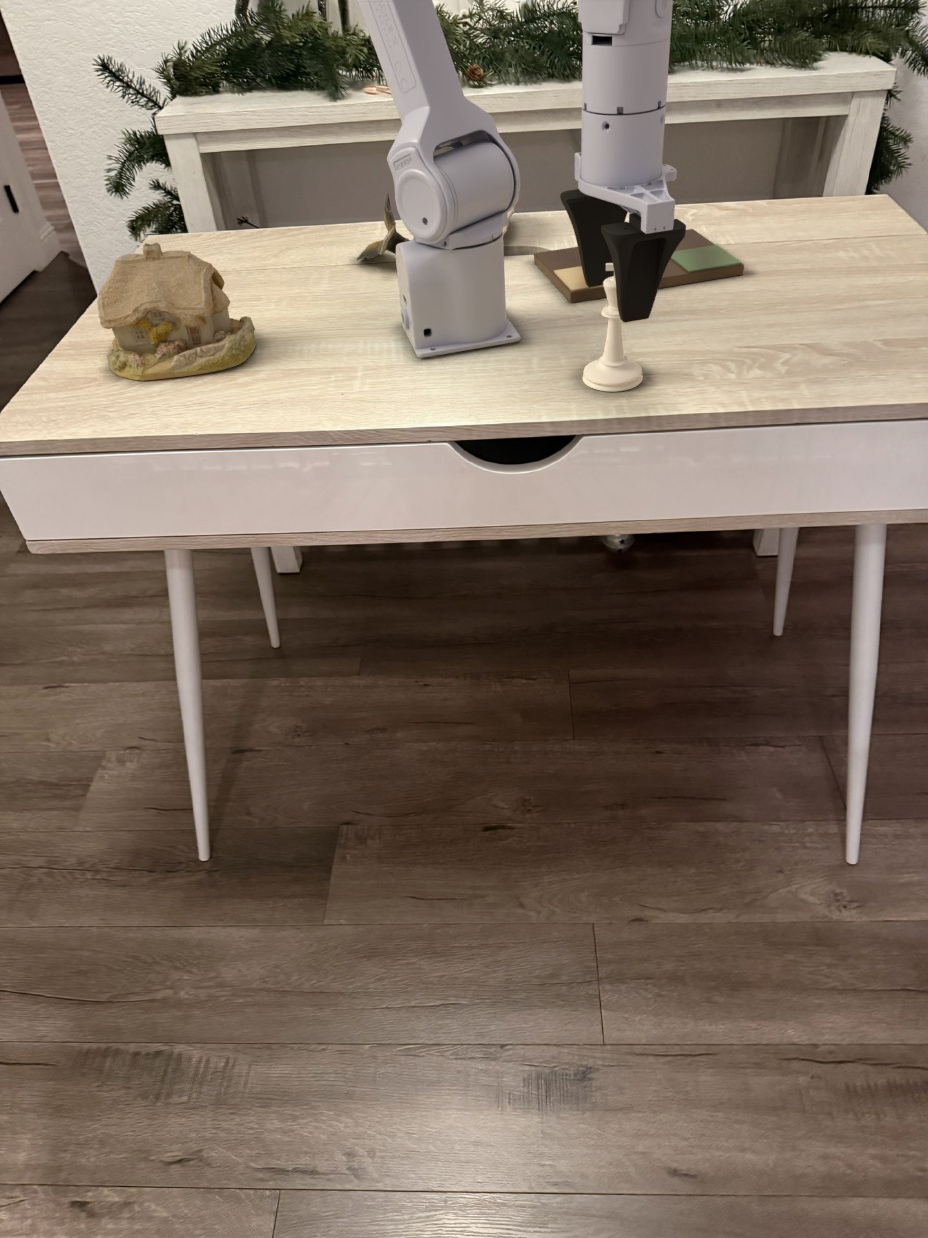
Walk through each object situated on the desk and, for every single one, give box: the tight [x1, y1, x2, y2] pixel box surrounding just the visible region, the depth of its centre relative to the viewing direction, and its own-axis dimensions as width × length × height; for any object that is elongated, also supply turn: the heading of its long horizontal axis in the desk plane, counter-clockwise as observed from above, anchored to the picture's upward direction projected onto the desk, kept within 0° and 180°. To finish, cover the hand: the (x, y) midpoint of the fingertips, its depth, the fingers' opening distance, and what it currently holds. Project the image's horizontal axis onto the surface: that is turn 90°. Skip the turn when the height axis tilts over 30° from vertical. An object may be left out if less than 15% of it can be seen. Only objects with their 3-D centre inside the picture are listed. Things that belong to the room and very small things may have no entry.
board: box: [533, 228, 745, 303], centre depth 94 cm, size 18×12×1 cm, turn 104°
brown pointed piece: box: [356, 193, 411, 261], centre depth 98 cm, size 8×7×9 cm
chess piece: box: [582, 263, 644, 393], centre depth 73 cm, size 5×5×10 cm
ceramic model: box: [96, 241, 256, 382], centre depth 82 cm, size 14×11×10 cm
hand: (616, 300), depth 72 cm, fingers open, 7 cm apart
